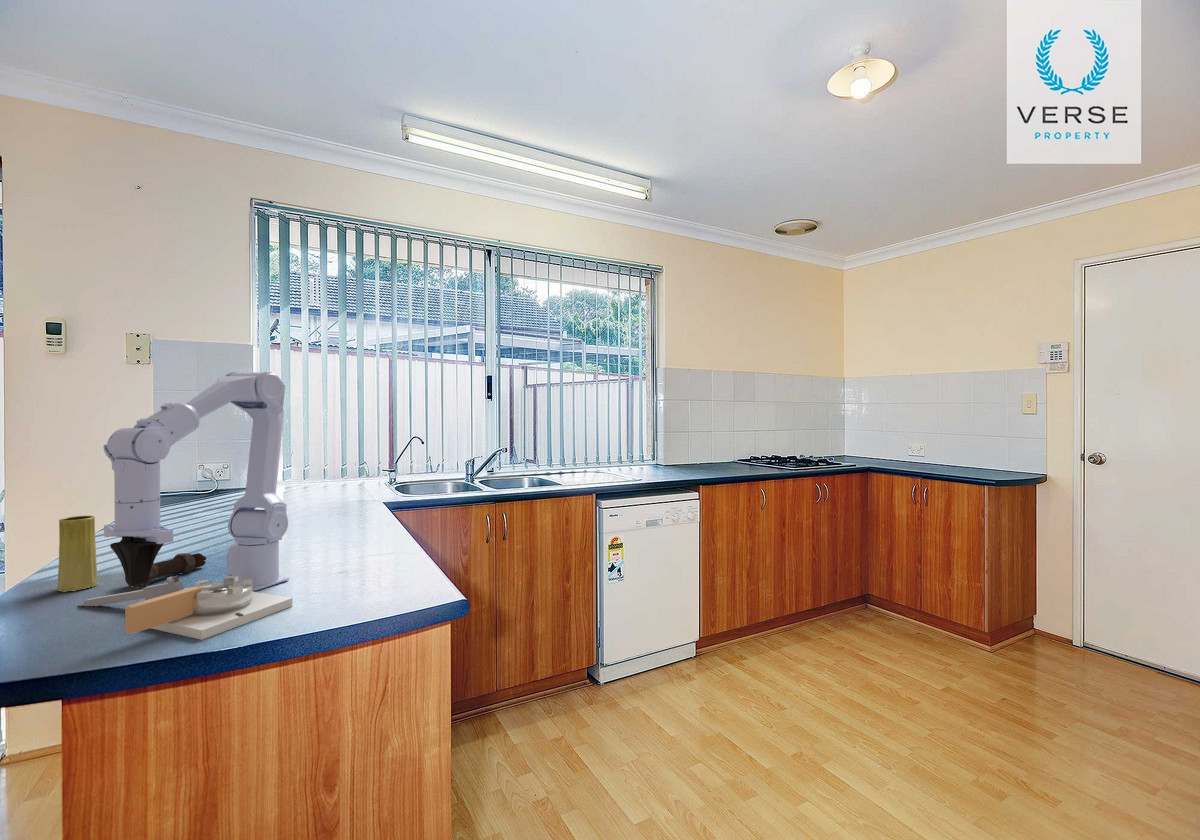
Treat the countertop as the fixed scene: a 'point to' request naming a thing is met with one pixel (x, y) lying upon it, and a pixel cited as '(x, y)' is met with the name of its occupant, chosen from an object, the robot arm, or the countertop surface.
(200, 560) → the bolt
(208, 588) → the ring clamp with plank
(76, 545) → the vase
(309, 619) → the countertop surface
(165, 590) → the caliper
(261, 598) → the cap plate
